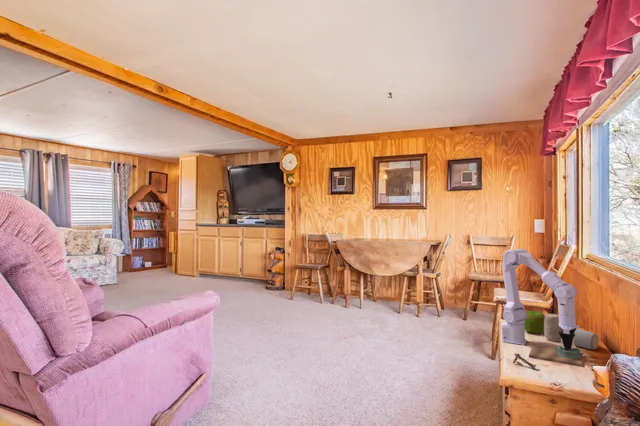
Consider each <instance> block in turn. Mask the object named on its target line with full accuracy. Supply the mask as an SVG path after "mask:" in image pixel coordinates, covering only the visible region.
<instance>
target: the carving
mask: <svg viewBox="0 0 640 426" xmlns="http://www.w3.org/2000/svg"><path fill="white" fill-rule="evenodd" d="M544 316H545V319H544V332H543V334H544V337H545V338H546V339H547V340H549V341H551V342H556V343H557V342H561V336H560V335H559V331H562V329H561V328H560V326H559V314H556V313H546V314H544Z"/></svg>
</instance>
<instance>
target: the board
mask: <svg viewBox="0 0 640 426" xmlns="http://www.w3.org/2000/svg"><path fill="white" fill-rule="evenodd" d="M574 350H575V352H570V351H565V350H562V345H557V346H556V348H554V347H548V346H541V345H532V347H531V349H530V352H529V354H528V358H531V359H536V360H542V361H547V362H552V363H559V364H563V365H569V366H570V365H571V366H576V367H582V366H583V357H584V354H583V352H581V349H579V347H576V346H574Z"/></svg>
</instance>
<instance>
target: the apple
mask: <svg viewBox="0 0 640 426" xmlns="http://www.w3.org/2000/svg"><path fill="white" fill-rule="evenodd" d="M526 312H527V319H526V320H525V322H524V328H525V332H527V333H531V334H536V335H541V334H544V319H545V314H543V313H542V312H538V311H534V310H526Z"/></svg>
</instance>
